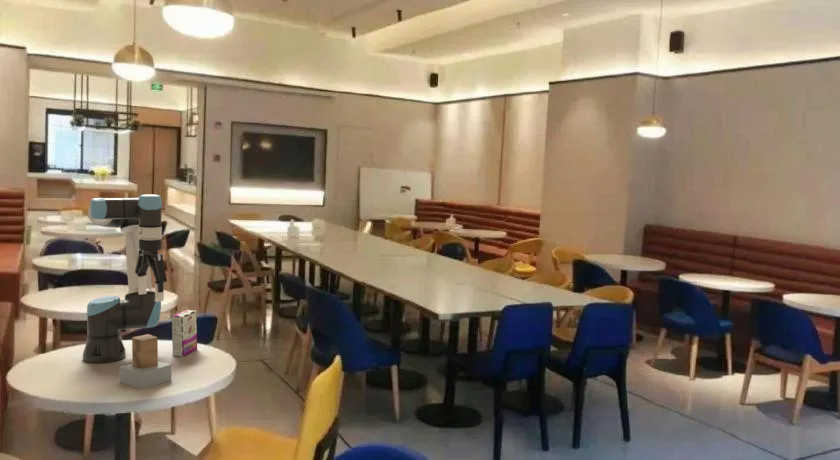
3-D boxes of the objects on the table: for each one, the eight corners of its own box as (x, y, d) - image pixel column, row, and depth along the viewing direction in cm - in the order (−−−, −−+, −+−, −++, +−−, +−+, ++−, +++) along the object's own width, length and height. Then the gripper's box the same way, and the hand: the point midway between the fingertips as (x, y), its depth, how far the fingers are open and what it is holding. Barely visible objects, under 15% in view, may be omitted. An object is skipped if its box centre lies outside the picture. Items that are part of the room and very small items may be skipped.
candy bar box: (186, 348, 283) (186, 309, 282) (197, 349, 282) (197, 310, 281) (171, 356, 273) (171, 315, 271) (183, 357, 272) (182, 316, 270)
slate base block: (119, 383, 240) (119, 366, 239) (149, 374, 250) (148, 358, 250) (142, 390, 234) (142, 372, 233) (171, 380, 244) (171, 364, 244)
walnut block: (132, 365, 241) (132, 337, 240) (148, 361, 246) (147, 334, 245) (142, 369, 238) (141, 340, 236) (157, 365, 242) (157, 337, 241)
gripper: (124, 234, 249) (125, 292, 252) (155, 244, 232) (156, 305, 235) (145, 233, 254) (145, 290, 257) (177, 242, 237) (177, 302, 240)
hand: (150, 297), depth 246 cm, fingers open, 13 cm apart
